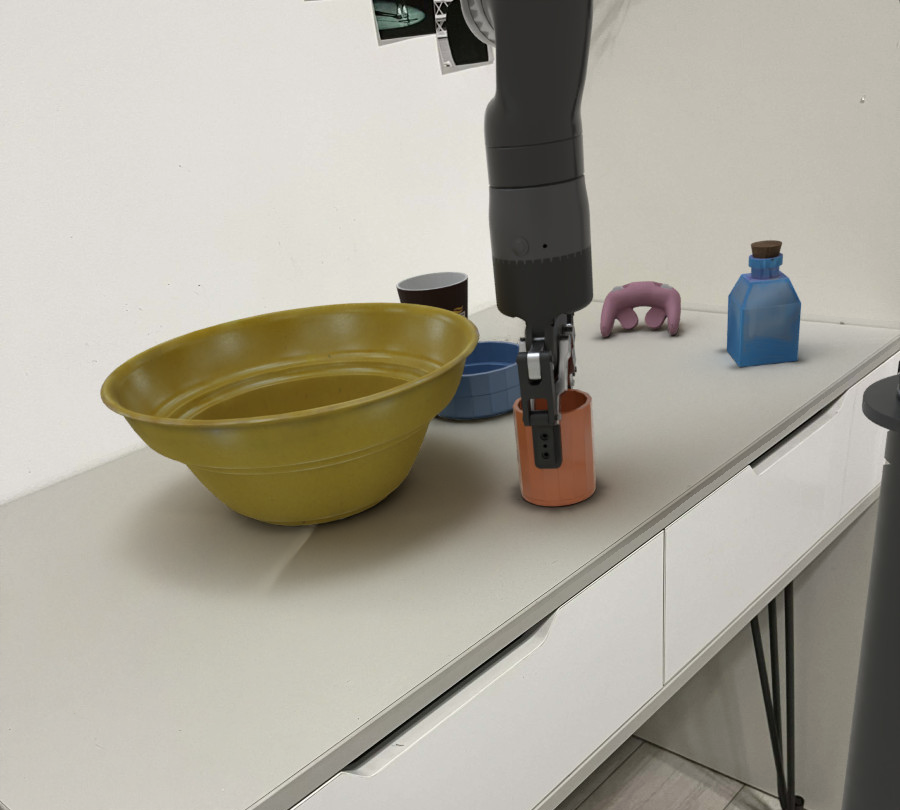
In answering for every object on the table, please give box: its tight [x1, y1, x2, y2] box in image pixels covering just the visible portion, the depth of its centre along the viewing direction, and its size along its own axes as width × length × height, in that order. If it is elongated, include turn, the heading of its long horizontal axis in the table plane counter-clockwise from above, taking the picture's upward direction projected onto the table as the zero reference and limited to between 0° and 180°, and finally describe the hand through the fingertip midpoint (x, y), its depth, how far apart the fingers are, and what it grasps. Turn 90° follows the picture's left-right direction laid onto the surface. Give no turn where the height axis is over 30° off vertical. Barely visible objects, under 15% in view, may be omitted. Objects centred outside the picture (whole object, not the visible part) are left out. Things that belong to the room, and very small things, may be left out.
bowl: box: [436, 340, 521, 421], centre depth 103 cm, size 12×12×5 cm
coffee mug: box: [395, 271, 469, 319], centre depth 116 cm, size 12×9×10 cm
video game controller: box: [599, 280, 682, 338], centre depth 119 cm, size 10×5×7 cm, turn 72°
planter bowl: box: [99, 302, 480, 527], centre depth 85 cm, size 32×32×13 cm
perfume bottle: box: [726, 239, 802, 368], centre depth 103 cm, size 6×6×12 cm
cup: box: [512, 388, 597, 507], centre depth 80 cm, size 6×6×8 cm
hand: (555, 449), depth 80 cm, fingers closed on cup, 6 cm apart
